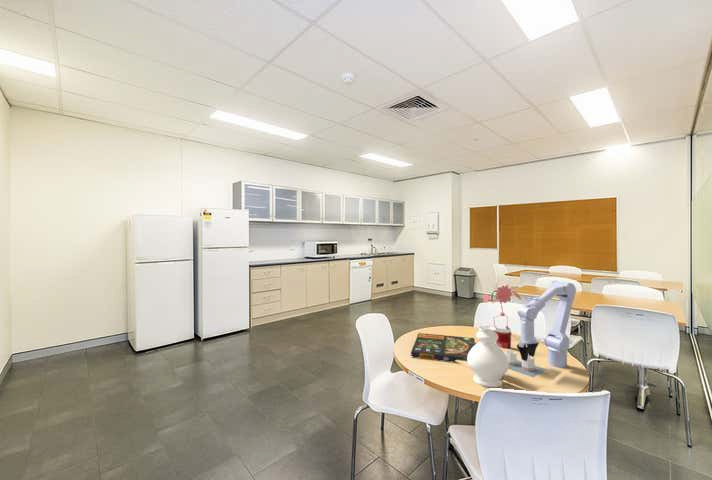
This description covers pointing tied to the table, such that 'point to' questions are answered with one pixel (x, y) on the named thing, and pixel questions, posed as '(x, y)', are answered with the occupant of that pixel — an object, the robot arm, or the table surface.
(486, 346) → the decorative vase
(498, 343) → the canned food
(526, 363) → the sleeve
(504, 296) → the potted flower
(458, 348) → the pizza box
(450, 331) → the table surface
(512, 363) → the seated sleeve
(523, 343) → the robot arm
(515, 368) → the pin board
